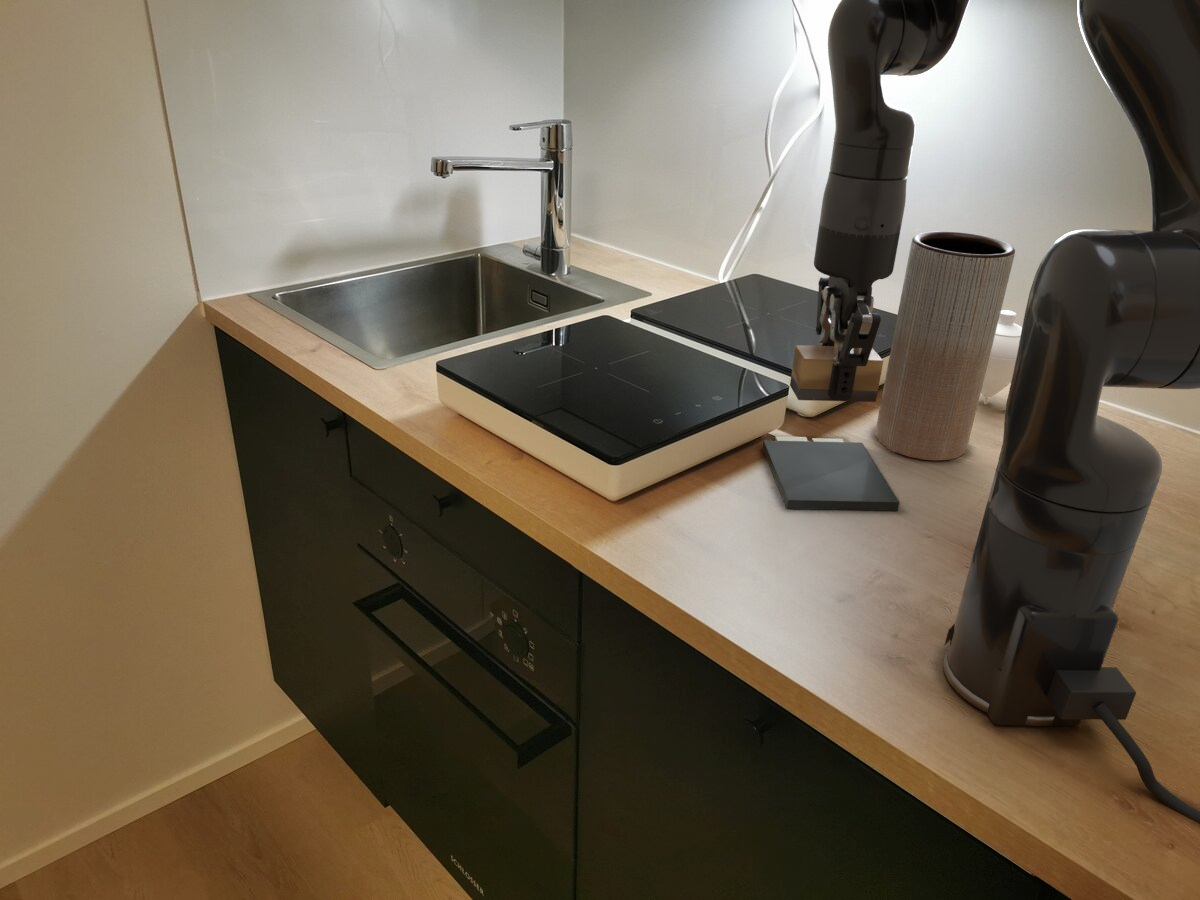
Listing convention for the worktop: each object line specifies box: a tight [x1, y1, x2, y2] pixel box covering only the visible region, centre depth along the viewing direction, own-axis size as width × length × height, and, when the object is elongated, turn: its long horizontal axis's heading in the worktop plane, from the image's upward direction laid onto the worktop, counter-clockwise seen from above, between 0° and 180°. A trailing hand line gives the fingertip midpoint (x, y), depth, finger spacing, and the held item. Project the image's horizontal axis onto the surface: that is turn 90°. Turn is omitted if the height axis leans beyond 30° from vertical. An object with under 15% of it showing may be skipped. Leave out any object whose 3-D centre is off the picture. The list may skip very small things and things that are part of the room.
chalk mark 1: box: [811, 437, 845, 442], centre depth 102 cm, size 2×4×1 cm, turn 92°
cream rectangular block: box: [774, 435, 809, 441], centre depth 102 cm, size 2×4×1 cm, turn 92°
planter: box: [875, 230, 1016, 462], centre depth 98 cm, size 10×10×23 cm
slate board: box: [762, 440, 900, 512], centre depth 94 cm, size 13×11×1 cm
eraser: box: [789, 344, 884, 403], centre depth 93 cm, size 4×8×4 cm, turn 92°
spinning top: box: [981, 309, 1022, 405], centre depth 110 cm, size 8×8×12 cm
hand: (833, 389), depth 94 cm, fingers closed on eraser, 4 cm apart
